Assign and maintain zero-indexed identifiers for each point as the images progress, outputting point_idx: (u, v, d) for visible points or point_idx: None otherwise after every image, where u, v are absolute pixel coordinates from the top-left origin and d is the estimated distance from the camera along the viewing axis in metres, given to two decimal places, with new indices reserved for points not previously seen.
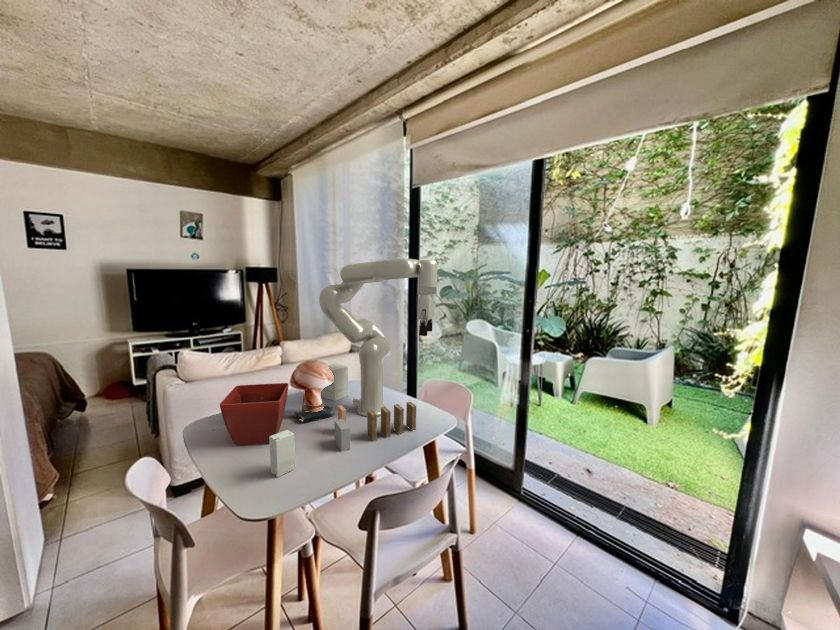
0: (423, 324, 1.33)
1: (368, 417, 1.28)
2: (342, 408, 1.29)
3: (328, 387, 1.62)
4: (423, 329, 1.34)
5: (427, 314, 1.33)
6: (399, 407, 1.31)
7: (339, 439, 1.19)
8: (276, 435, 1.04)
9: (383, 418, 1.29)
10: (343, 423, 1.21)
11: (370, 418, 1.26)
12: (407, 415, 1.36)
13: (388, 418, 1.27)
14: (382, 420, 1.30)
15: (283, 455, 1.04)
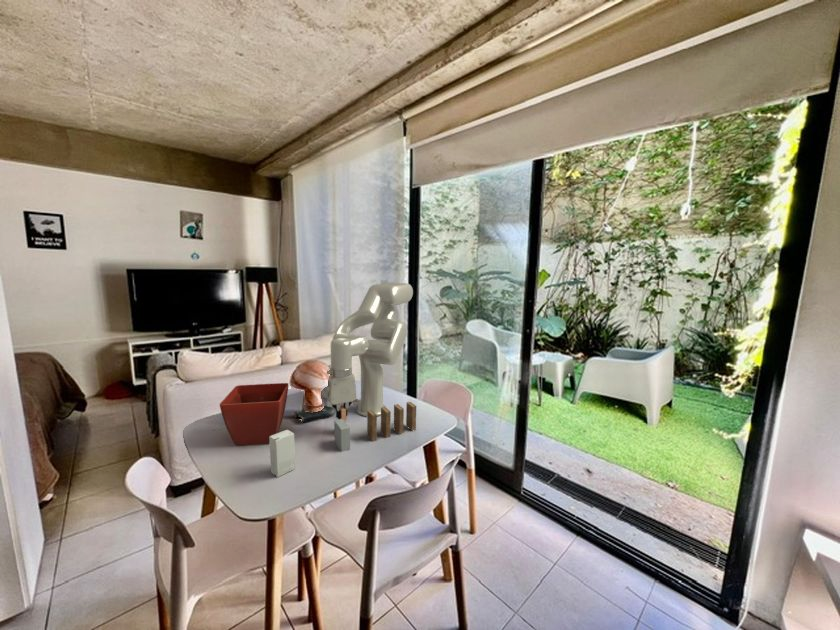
0: None
1: (368, 417, 1.28)
2: (342, 408, 1.29)
3: None
4: None
5: None
6: (399, 407, 1.31)
7: (339, 439, 1.19)
8: (276, 435, 1.04)
9: (383, 418, 1.29)
10: (343, 423, 1.21)
11: (370, 418, 1.26)
12: (407, 415, 1.36)
13: (388, 418, 1.27)
14: (382, 420, 1.30)
15: (283, 455, 1.04)
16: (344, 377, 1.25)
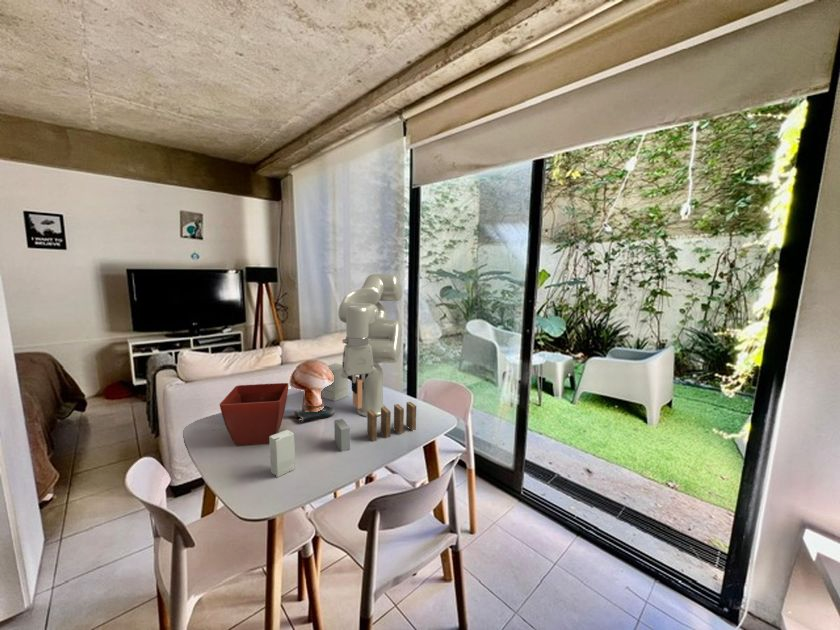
0: None
1: (368, 417, 1.28)
2: (358, 379, 1.21)
3: (328, 387, 1.62)
4: None
5: None
6: (399, 407, 1.31)
7: (339, 439, 1.19)
8: (276, 435, 1.04)
9: (383, 418, 1.29)
10: (343, 423, 1.21)
11: (370, 418, 1.26)
12: (407, 415, 1.36)
13: (388, 418, 1.27)
14: (382, 420, 1.30)
15: (283, 455, 1.04)
16: (361, 346, 1.17)
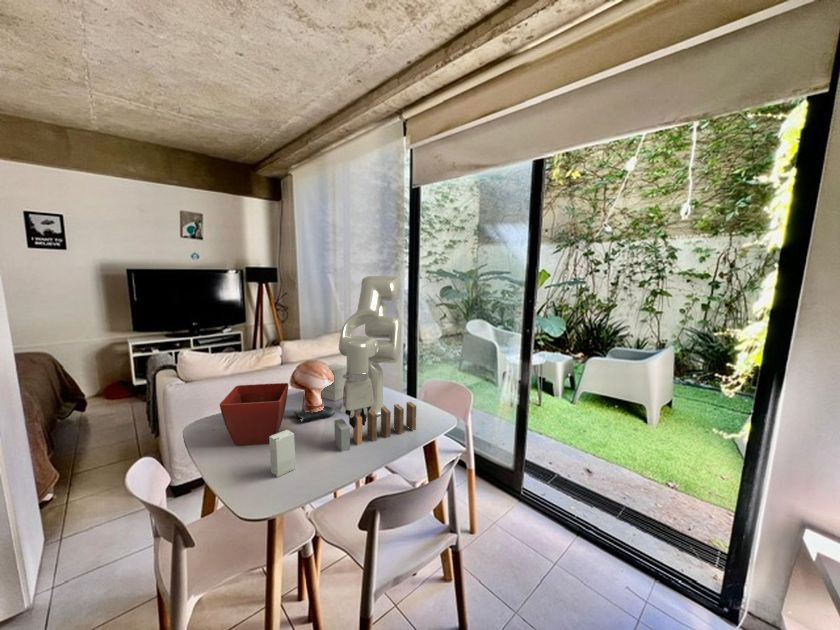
0: None
1: (368, 417, 1.28)
2: (358, 416, 1.23)
3: (328, 387, 1.62)
4: None
5: None
6: (399, 407, 1.31)
7: (339, 439, 1.19)
8: (276, 435, 1.04)
9: (383, 418, 1.29)
10: (343, 423, 1.21)
11: (370, 418, 1.26)
12: (407, 415, 1.36)
13: (388, 418, 1.27)
14: (382, 420, 1.30)
15: (283, 455, 1.04)
16: (361, 381, 1.18)
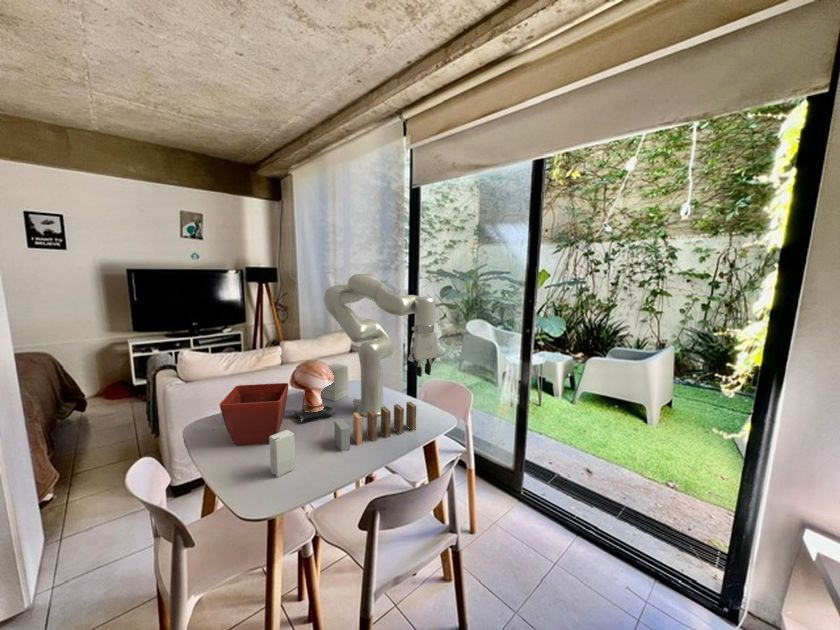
0: None
1: (368, 417, 1.28)
2: (358, 416, 1.23)
3: (328, 387, 1.62)
4: None
5: None
6: (399, 407, 1.31)
7: (339, 439, 1.19)
8: (276, 435, 1.04)
9: (383, 418, 1.29)
10: (343, 423, 1.21)
11: (370, 418, 1.26)
12: (407, 415, 1.36)
13: (388, 418, 1.27)
14: (382, 420, 1.30)
15: (283, 455, 1.04)
16: (429, 333, 1.30)
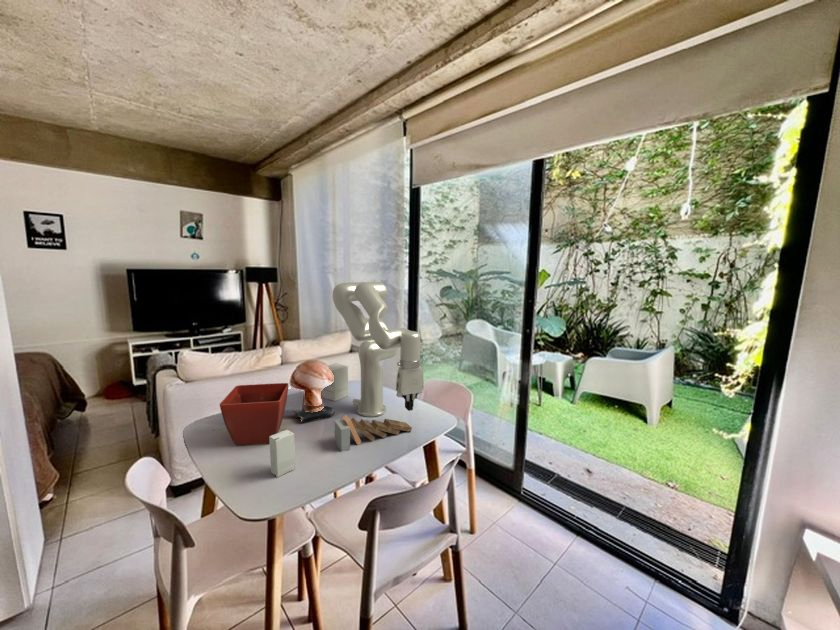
0: None
1: None
2: (347, 419, 1.21)
3: (328, 387, 1.62)
4: None
5: None
6: (375, 425, 1.27)
7: (339, 439, 1.19)
8: (276, 435, 1.04)
9: None
10: (343, 423, 1.21)
11: None
12: None
13: (370, 429, 1.24)
14: None
15: (283, 455, 1.04)
16: (414, 368, 1.29)
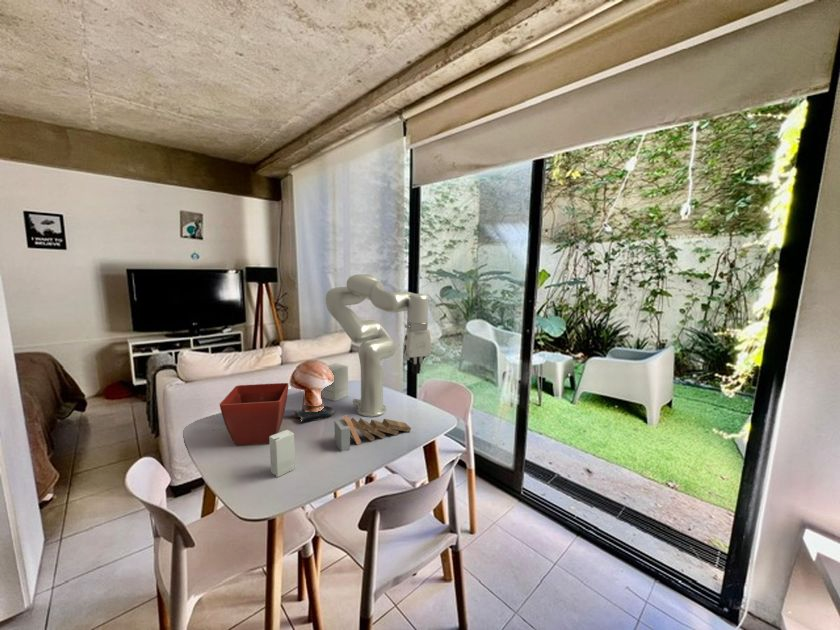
0: None
1: None
2: (347, 419, 1.21)
3: (328, 387, 1.62)
4: None
5: None
6: (374, 425, 1.27)
7: (339, 439, 1.19)
8: (276, 435, 1.04)
9: None
10: (343, 423, 1.21)
11: None
12: None
13: (369, 428, 1.24)
14: None
15: (283, 455, 1.04)
16: (422, 330, 1.28)
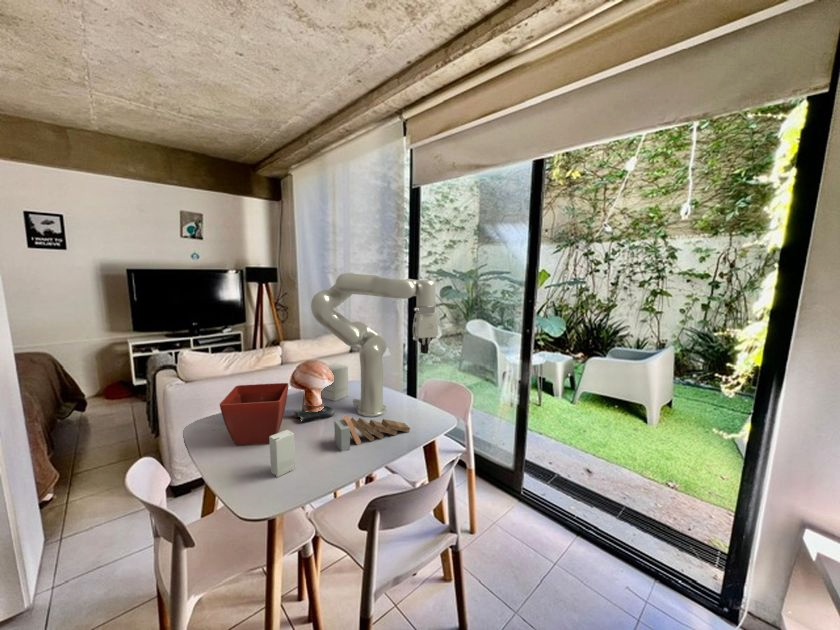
0: None
1: None
2: (347, 419, 1.21)
3: (328, 387, 1.62)
4: None
5: None
6: (372, 425, 1.27)
7: (339, 439, 1.19)
8: (276, 435, 1.04)
9: None
10: (343, 423, 1.21)
11: None
12: None
13: (368, 428, 1.24)
14: None
15: (283, 455, 1.04)
16: (430, 313, 1.40)
